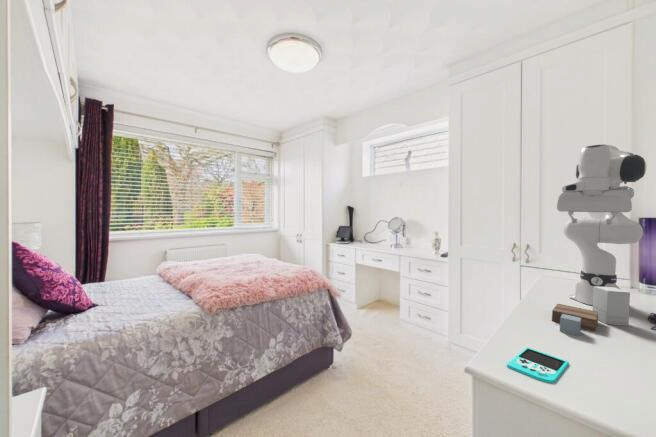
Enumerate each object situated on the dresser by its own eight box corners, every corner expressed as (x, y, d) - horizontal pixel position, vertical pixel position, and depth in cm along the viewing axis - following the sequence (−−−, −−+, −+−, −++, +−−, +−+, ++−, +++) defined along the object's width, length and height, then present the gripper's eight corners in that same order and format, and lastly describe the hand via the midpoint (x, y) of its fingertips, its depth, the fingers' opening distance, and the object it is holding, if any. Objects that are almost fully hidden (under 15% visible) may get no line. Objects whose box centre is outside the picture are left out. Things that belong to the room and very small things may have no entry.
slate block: (561, 327, 100) (562, 313, 100) (580, 332, 96) (581, 317, 96) (559, 331, 97) (560, 317, 97) (578, 336, 93) (579, 321, 93)
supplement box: (629, 326, 102) (631, 292, 101) (605, 324, 103) (607, 290, 103) (613, 318, 109) (614, 286, 109) (591, 316, 111) (592, 285, 110)
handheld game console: (505, 368, 74) (505, 363, 74) (526, 350, 84) (526, 345, 84) (552, 387, 66) (552, 382, 66) (569, 365, 76) (569, 360, 76)
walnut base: (557, 313, 114) (557, 303, 114) (597, 322, 105) (598, 311, 105) (551, 320, 106) (552, 310, 106) (595, 331, 97) (596, 320, 97)
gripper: (634, 187, 98) (632, 226, 98) (559, 189, 113) (557, 223, 113) (634, 184, 94) (632, 224, 93) (557, 187, 109) (555, 222, 108)
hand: (591, 223), depth 103 cm, fingers open, 8 cm apart
